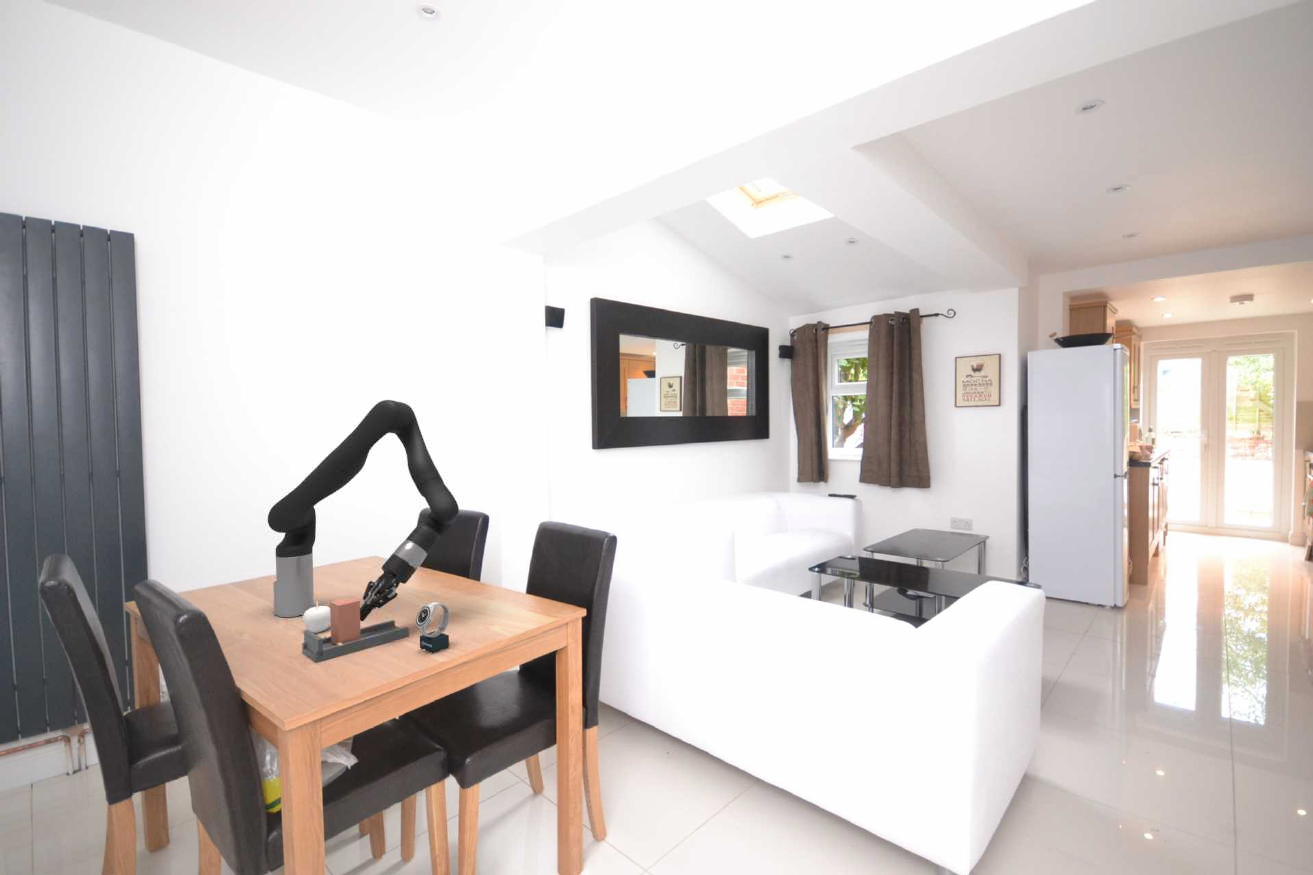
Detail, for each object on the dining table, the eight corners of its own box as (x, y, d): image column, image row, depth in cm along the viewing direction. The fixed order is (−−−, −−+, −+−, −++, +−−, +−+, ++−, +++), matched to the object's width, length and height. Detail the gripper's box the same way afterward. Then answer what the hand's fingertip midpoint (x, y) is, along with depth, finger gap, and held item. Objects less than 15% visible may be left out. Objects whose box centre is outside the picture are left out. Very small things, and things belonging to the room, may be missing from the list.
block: (352, 636, 151) (351, 596, 150) (360, 641, 147) (359, 600, 147) (331, 641, 147) (330, 601, 147) (339, 646, 144) (338, 605, 143)
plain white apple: (299, 636, 155) (298, 605, 155) (307, 627, 162) (306, 598, 162) (329, 633, 157) (328, 603, 157) (335, 624, 164) (335, 595, 164)
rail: (392, 628, 160) (392, 609, 160) (409, 636, 154) (408, 616, 154) (301, 652, 144) (301, 631, 144) (316, 662, 138) (315, 640, 138)
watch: (412, 651, 144) (411, 605, 144) (441, 640, 151) (440, 597, 151) (426, 656, 141) (425, 609, 141) (455, 645, 148) (454, 601, 148)
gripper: (383, 549, 160) (336, 605, 152) (406, 556, 152) (358, 616, 143) (403, 565, 165) (358, 621, 156) (427, 573, 156) (380, 632, 147)
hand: (358, 618), depth 149 cm, fingers closed
